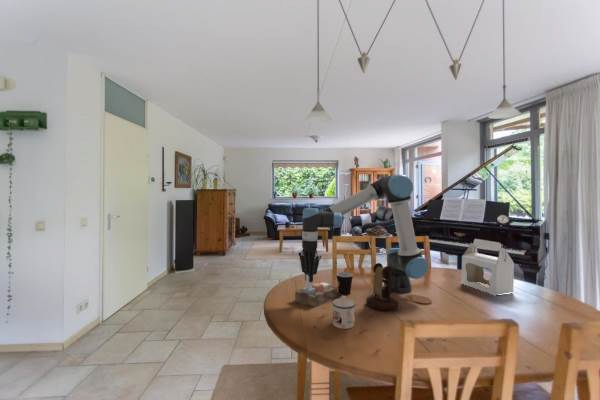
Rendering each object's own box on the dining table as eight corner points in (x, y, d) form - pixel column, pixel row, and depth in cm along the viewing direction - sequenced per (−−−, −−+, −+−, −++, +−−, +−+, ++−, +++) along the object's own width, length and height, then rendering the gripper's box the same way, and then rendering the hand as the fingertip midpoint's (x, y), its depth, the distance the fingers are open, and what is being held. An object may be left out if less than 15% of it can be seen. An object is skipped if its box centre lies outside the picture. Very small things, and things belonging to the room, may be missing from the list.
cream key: (323, 291, 153) (323, 282, 153) (329, 293, 150) (330, 284, 150) (318, 293, 150) (318, 284, 150) (324, 295, 147) (324, 286, 147)
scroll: (360, 302, 141) (360, 262, 141) (384, 299, 147) (384, 260, 147) (379, 314, 128) (380, 269, 128) (405, 309, 134) (406, 266, 133)
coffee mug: (352, 296, 150) (352, 277, 150) (335, 295, 152) (335, 276, 152) (352, 289, 162) (353, 271, 161) (337, 288, 163) (337, 270, 163)
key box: (319, 292, 156) (319, 282, 156) (337, 297, 148) (337, 287, 148) (295, 301, 142) (295, 290, 142) (313, 307, 134) (313, 296, 134)
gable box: (513, 294, 158) (515, 243, 157) (496, 296, 153) (497, 244, 153) (477, 282, 179) (478, 237, 178) (460, 284, 174) (461, 238, 174)
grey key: (308, 296, 144) (308, 286, 144) (315, 298, 141) (315, 288, 141) (302, 298, 141) (302, 288, 141) (309, 300, 138) (309, 290, 138)
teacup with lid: (327, 321, 120) (328, 293, 120) (346, 318, 123) (346, 291, 123) (343, 334, 109) (344, 304, 109) (363, 330, 113) (364, 300, 112)
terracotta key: (316, 292, 149) (316, 282, 148) (322, 294, 146) (323, 284, 145) (310, 294, 145) (310, 284, 145) (317, 296, 142) (317, 286, 142)
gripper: (294, 239, 142) (293, 286, 143) (315, 242, 133) (314, 293, 134) (304, 237, 148) (304, 283, 148) (325, 240, 139) (324, 289, 139)
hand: (308, 287), depth 141 cm, fingers closed
